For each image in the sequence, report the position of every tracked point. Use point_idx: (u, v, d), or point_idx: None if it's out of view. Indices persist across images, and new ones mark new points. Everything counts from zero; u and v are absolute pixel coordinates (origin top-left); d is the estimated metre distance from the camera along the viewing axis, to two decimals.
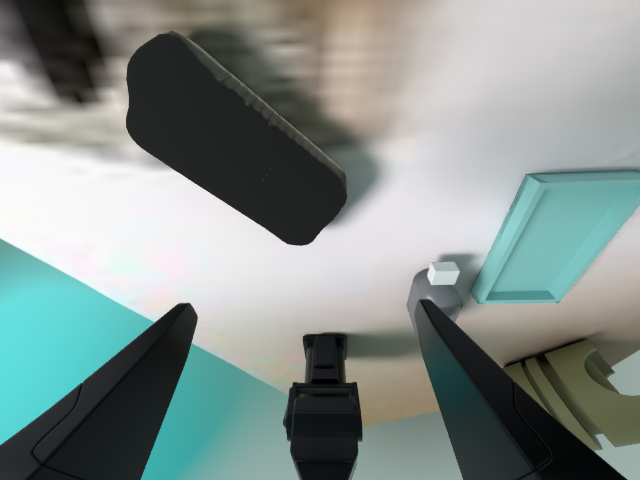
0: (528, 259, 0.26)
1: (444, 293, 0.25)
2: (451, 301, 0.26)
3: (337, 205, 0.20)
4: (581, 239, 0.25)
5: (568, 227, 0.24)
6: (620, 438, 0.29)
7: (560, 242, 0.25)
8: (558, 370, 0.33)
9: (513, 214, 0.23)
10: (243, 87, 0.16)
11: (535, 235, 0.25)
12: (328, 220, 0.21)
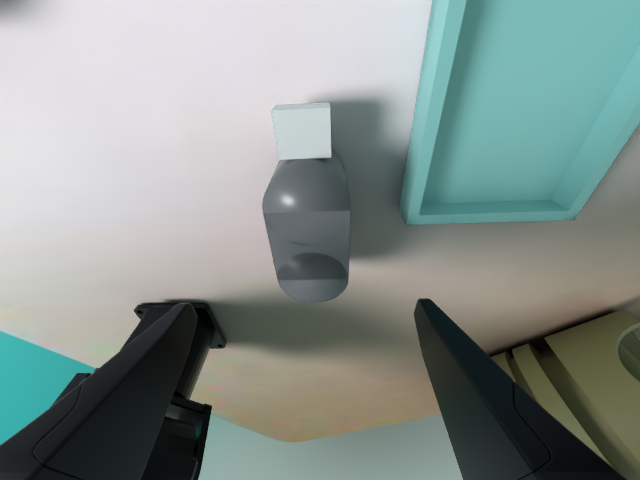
0: (506, 104, 0.11)
1: (296, 169, 0.10)
2: (319, 192, 0.11)
3: None
4: (637, 28, 0.10)
5: None
6: None
7: (583, 41, 0.10)
8: (569, 363, 0.18)
9: None
10: None
11: (520, 15, 0.10)
12: None
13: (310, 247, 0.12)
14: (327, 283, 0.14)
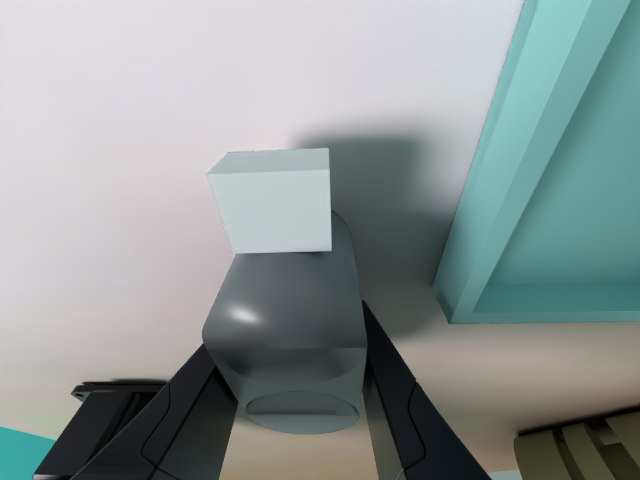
0: None
1: (261, 290, 0.05)
2: (308, 325, 0.05)
3: None
4: None
5: None
6: None
7: None
8: None
9: None
10: None
11: None
12: None
13: (296, 386, 0.07)
14: (325, 419, 0.09)
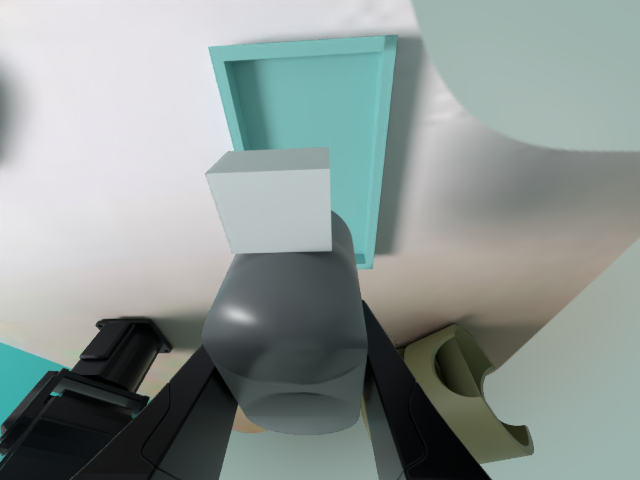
0: None
1: (260, 291, 0.05)
2: (308, 326, 0.05)
3: None
4: (363, 168, 0.17)
5: (332, 147, 0.16)
6: None
7: (336, 174, 0.17)
8: (407, 363, 0.26)
9: None
10: None
11: None
12: None
13: (296, 387, 0.07)
14: (325, 420, 0.09)
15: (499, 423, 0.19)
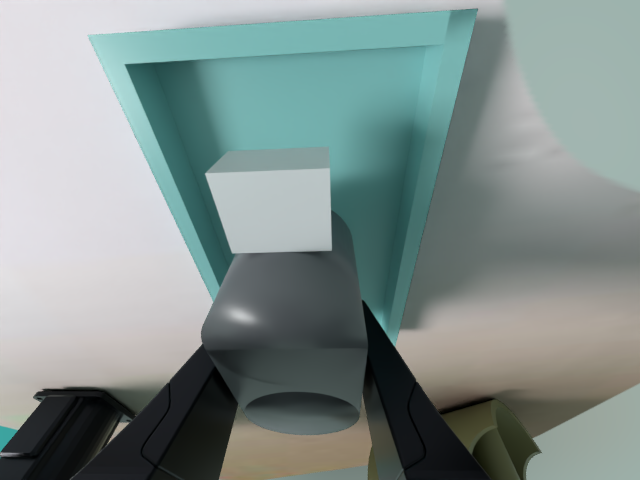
0: None
1: (260, 290, 0.05)
2: (308, 326, 0.05)
3: None
4: (385, 231, 0.11)
5: (337, 201, 0.10)
6: None
7: None
8: None
9: None
10: None
11: None
12: None
13: (296, 386, 0.07)
14: (325, 419, 0.09)
15: None
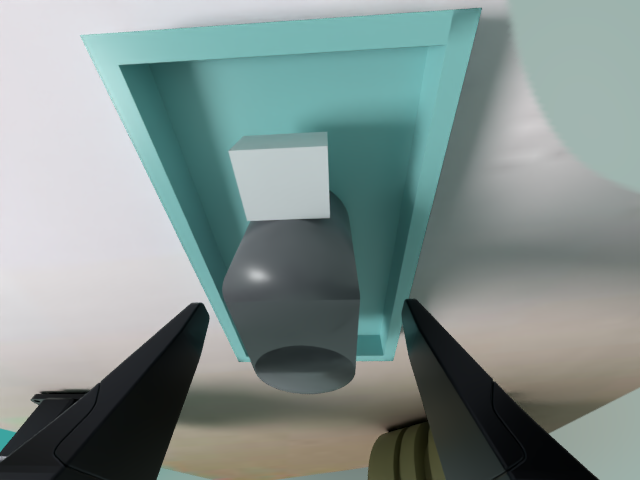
0: None
1: (272, 245, 0.06)
2: (311, 277, 0.07)
3: None
4: (385, 234, 0.11)
5: None
6: None
7: None
8: (434, 463, 0.19)
9: None
10: None
11: None
12: None
13: (300, 340, 0.08)
14: (325, 376, 0.10)
15: None
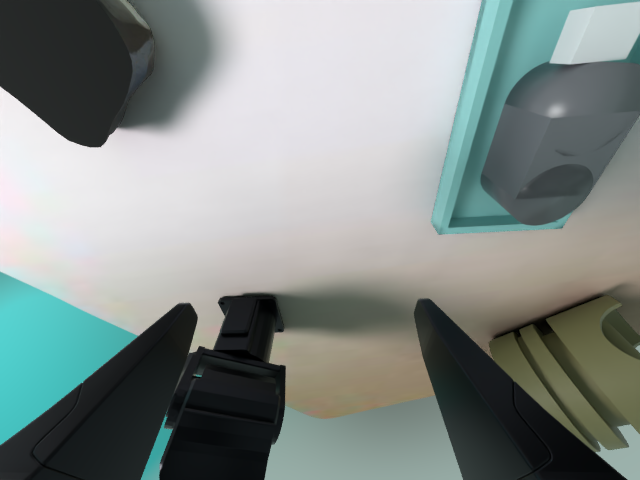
0: None
1: (615, 63, 0.11)
2: (624, 90, 0.11)
3: (120, 75, 0.12)
4: None
5: None
6: None
7: None
8: (564, 336, 0.24)
9: (476, 51, 0.13)
10: None
11: None
12: (116, 104, 0.13)
13: (573, 157, 0.13)
14: (563, 201, 0.14)
15: None
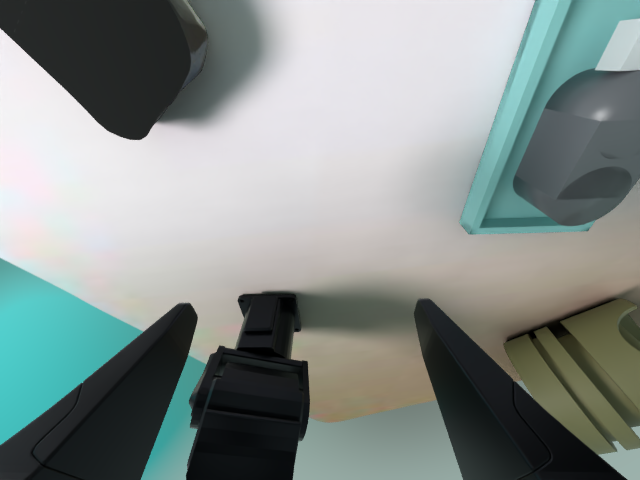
0: None
1: None
2: None
3: (177, 73, 0.13)
4: None
5: None
6: None
7: None
8: (581, 338, 0.24)
9: (524, 56, 0.14)
10: None
11: None
12: (166, 99, 0.13)
13: (615, 160, 0.14)
14: (600, 203, 0.15)
15: None
